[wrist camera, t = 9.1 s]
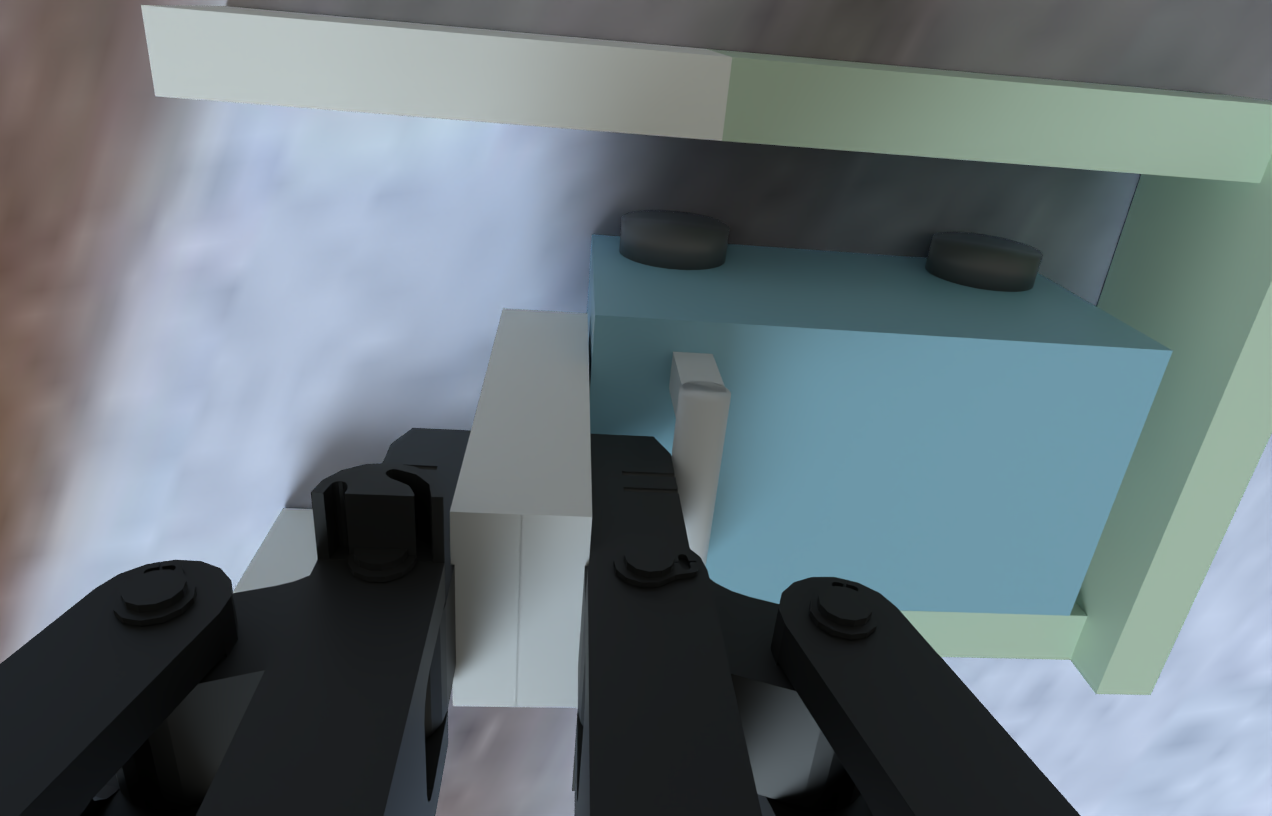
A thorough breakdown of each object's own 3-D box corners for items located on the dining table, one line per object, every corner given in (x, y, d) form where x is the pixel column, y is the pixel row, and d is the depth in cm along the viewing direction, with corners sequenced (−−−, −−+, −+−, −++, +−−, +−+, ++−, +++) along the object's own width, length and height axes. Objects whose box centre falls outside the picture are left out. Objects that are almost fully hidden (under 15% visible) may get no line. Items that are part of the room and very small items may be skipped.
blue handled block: (576, 481, 19) (572, 702, 13) (593, 202, 16) (600, 315, 10) (951, 498, 20) (1114, 713, 14) (1027, 234, 17) (1273, 357, 11)
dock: (288, 551, 19) (220, 677, 16) (224, 6, 14) (104, 4, 11) (1051, 576, 21) (1150, 695, 17) (1228, 94, 16) (1416, 119, 12)
